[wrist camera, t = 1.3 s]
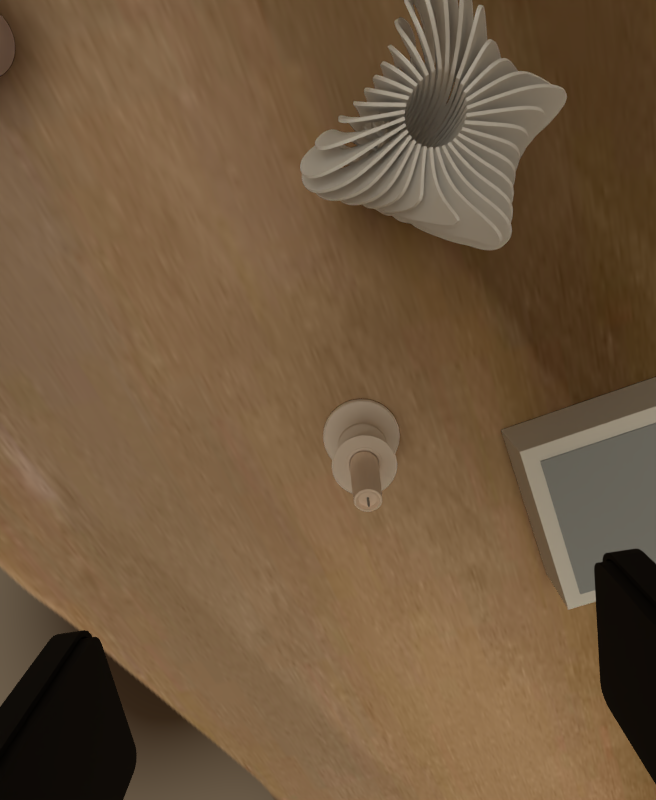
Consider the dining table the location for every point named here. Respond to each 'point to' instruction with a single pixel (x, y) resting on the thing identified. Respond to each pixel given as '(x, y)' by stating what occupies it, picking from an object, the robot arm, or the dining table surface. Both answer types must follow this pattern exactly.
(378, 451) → the candle
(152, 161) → the dining table surface
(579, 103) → the dining table surface
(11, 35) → the smoothie
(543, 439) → the plinth
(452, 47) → the shell sculpture
